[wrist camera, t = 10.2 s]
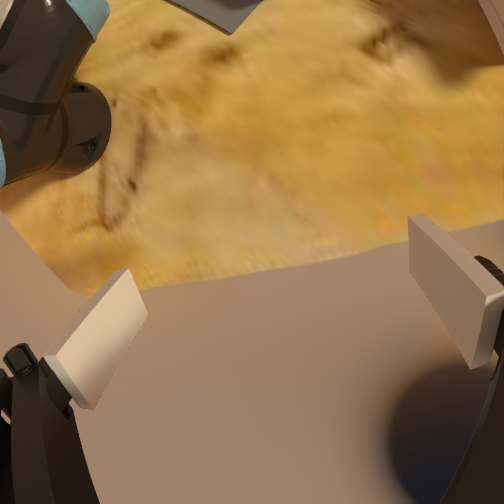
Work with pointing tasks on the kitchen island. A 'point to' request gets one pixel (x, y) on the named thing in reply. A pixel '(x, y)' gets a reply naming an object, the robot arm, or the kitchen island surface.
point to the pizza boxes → (495, 18)
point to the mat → (221, 11)
